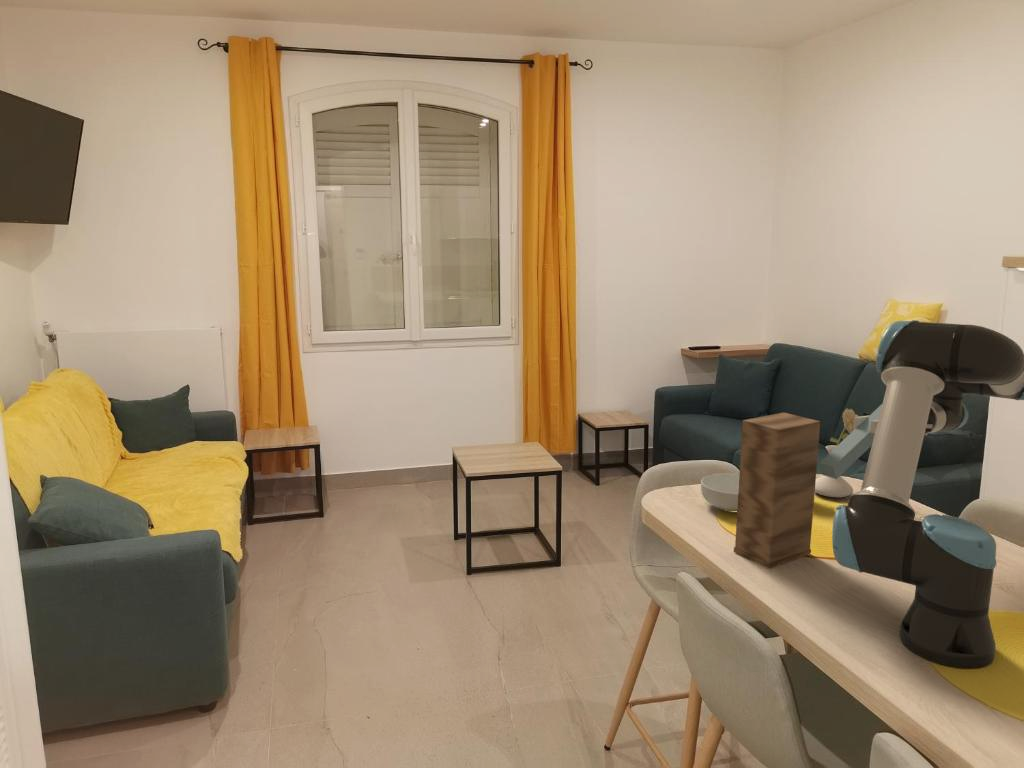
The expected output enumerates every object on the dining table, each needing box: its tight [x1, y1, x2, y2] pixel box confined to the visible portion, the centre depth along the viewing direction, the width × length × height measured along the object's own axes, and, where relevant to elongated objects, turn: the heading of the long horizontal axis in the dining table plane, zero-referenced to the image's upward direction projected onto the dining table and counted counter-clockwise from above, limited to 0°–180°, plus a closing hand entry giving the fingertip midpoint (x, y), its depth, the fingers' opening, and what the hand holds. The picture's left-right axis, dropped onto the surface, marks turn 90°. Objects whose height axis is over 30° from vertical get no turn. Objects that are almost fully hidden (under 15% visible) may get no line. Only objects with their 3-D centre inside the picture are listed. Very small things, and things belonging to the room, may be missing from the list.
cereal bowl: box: [700, 472, 740, 512], centre depth 208 cm, size 17×17×7 cm
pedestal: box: [733, 412, 821, 569], centre depth 176 cm, size 10×14×32 cm
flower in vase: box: [815, 408, 860, 498], centre depth 217 cm, size 13×11×25 cm
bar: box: [818, 403, 883, 479], centre depth 173 cm, size 4×24×4 cm, turn 123°
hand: (863, 425), depth 173 cm, fingers closed on bar, 3 cm apart
